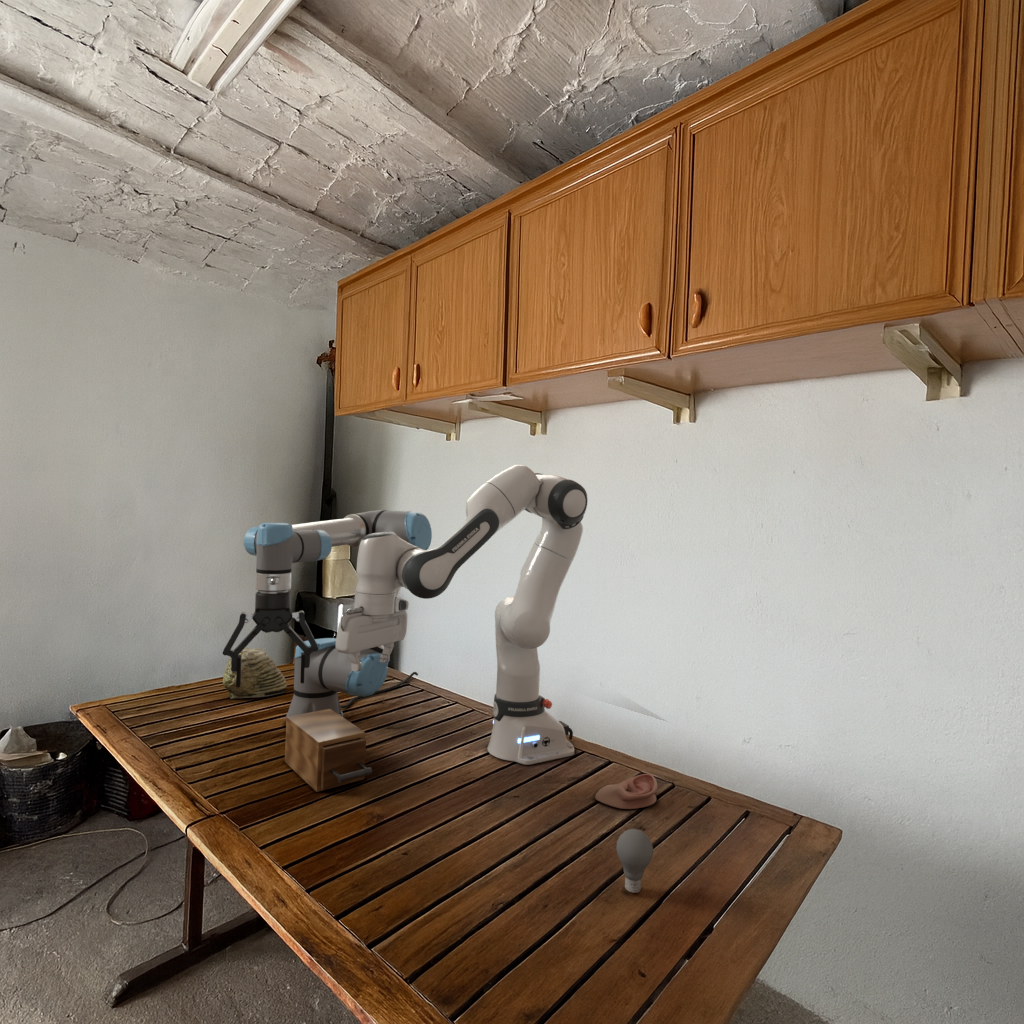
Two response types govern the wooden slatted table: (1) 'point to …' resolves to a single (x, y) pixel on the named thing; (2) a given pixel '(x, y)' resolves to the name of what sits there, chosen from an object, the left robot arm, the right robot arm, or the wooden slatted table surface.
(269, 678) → the fossil
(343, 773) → the drawer
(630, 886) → the light bulb
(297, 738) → the cabinet
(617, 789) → the anatomical model
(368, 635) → the right robot arm
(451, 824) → the wooden slatted table surface
